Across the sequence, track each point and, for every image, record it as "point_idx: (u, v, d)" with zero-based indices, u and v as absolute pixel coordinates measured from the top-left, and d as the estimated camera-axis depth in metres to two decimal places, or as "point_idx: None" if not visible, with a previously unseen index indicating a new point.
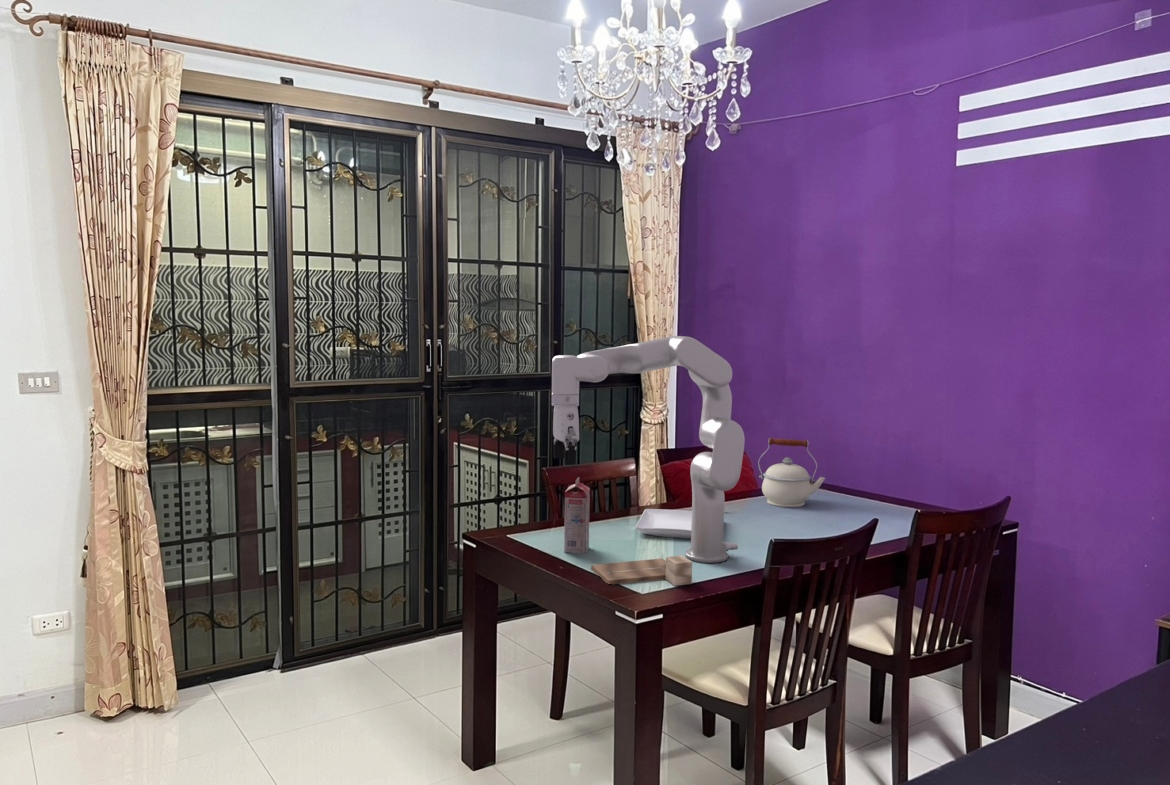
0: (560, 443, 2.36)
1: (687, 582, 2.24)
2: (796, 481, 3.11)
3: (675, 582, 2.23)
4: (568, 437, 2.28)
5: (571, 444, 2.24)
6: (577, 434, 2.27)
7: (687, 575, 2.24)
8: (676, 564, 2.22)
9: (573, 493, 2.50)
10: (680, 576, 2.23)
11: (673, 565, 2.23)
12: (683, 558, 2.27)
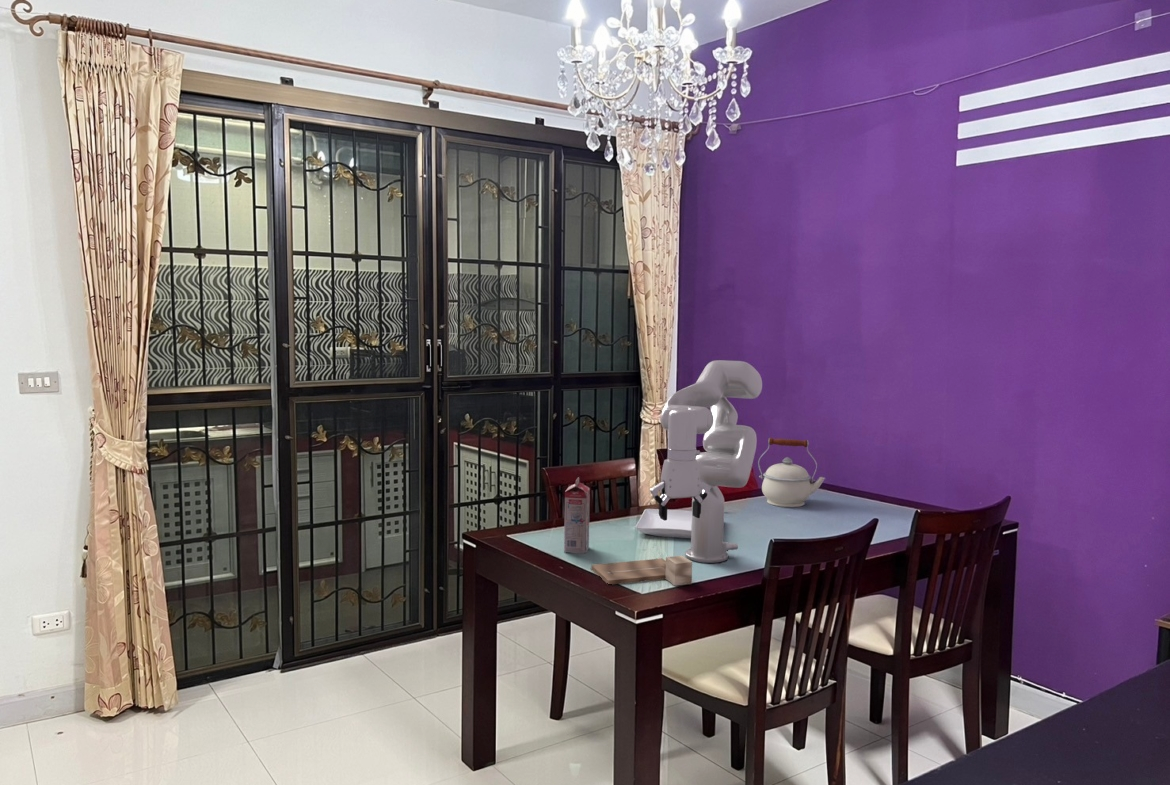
0: None
1: (687, 582, 2.24)
2: (796, 481, 3.11)
3: (675, 582, 2.23)
4: None
5: None
6: None
7: (687, 575, 2.24)
8: (676, 564, 2.22)
9: (573, 493, 2.50)
10: (680, 576, 2.23)
11: (673, 565, 2.23)
12: (683, 558, 2.27)
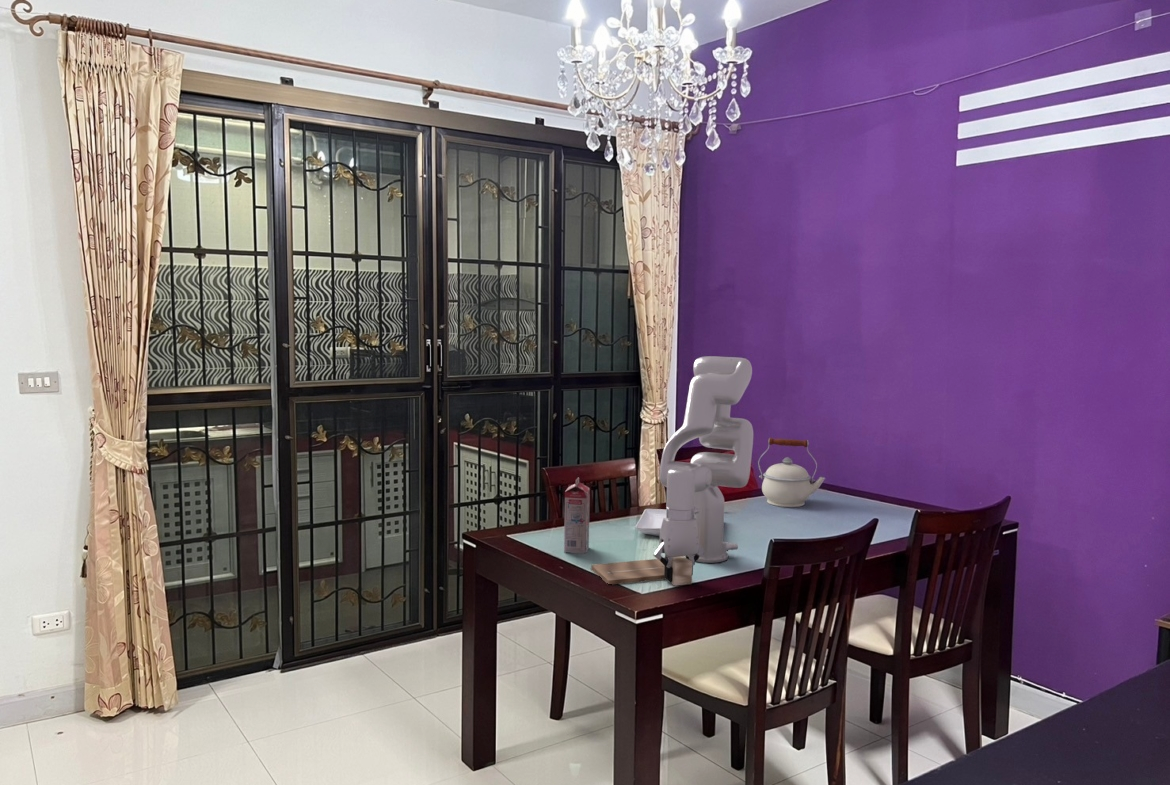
0: None
1: (687, 582, 2.24)
2: (796, 481, 3.11)
3: (675, 582, 2.23)
4: None
5: None
6: None
7: (687, 575, 2.24)
8: (676, 564, 2.22)
9: (573, 493, 2.50)
10: (680, 576, 2.23)
11: (673, 565, 2.23)
12: (683, 558, 2.27)
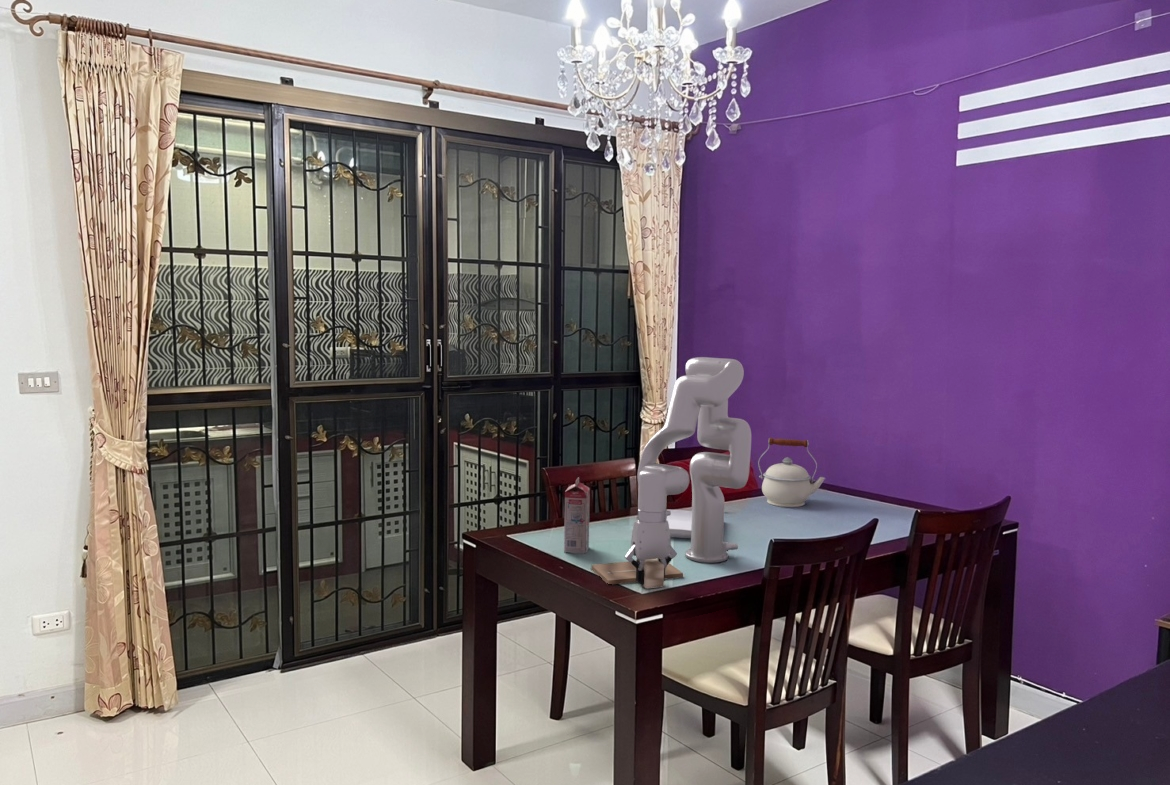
0: None
1: (659, 585, 2.21)
2: (796, 481, 3.11)
3: (647, 584, 2.20)
4: None
5: None
6: None
7: (659, 577, 2.21)
8: (647, 567, 2.20)
9: (573, 493, 2.50)
10: (652, 579, 2.20)
11: (645, 568, 2.20)
12: (655, 561, 2.24)
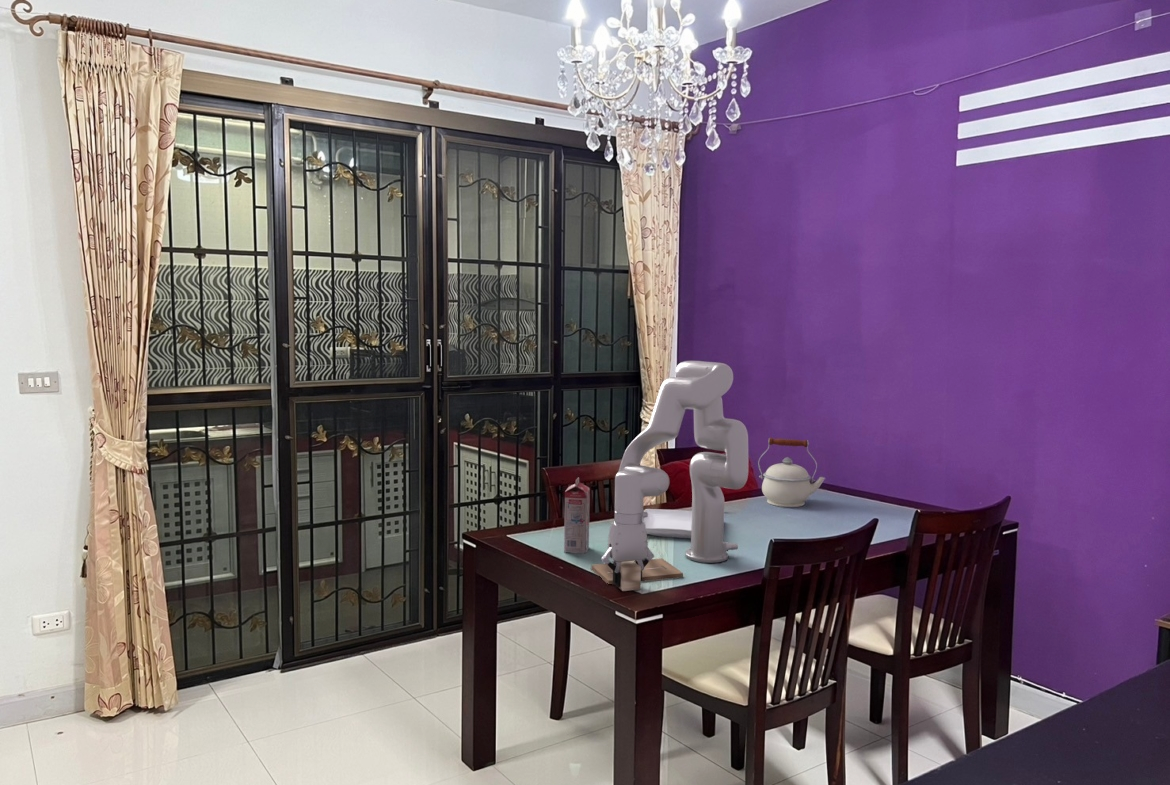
0: None
1: (635, 587, 2.19)
2: (796, 481, 3.11)
3: (623, 587, 2.18)
4: None
5: None
6: None
7: (635, 580, 2.19)
8: (624, 569, 2.17)
9: (573, 493, 2.50)
10: (628, 581, 2.18)
11: (621, 570, 2.18)
12: (632, 563, 2.22)
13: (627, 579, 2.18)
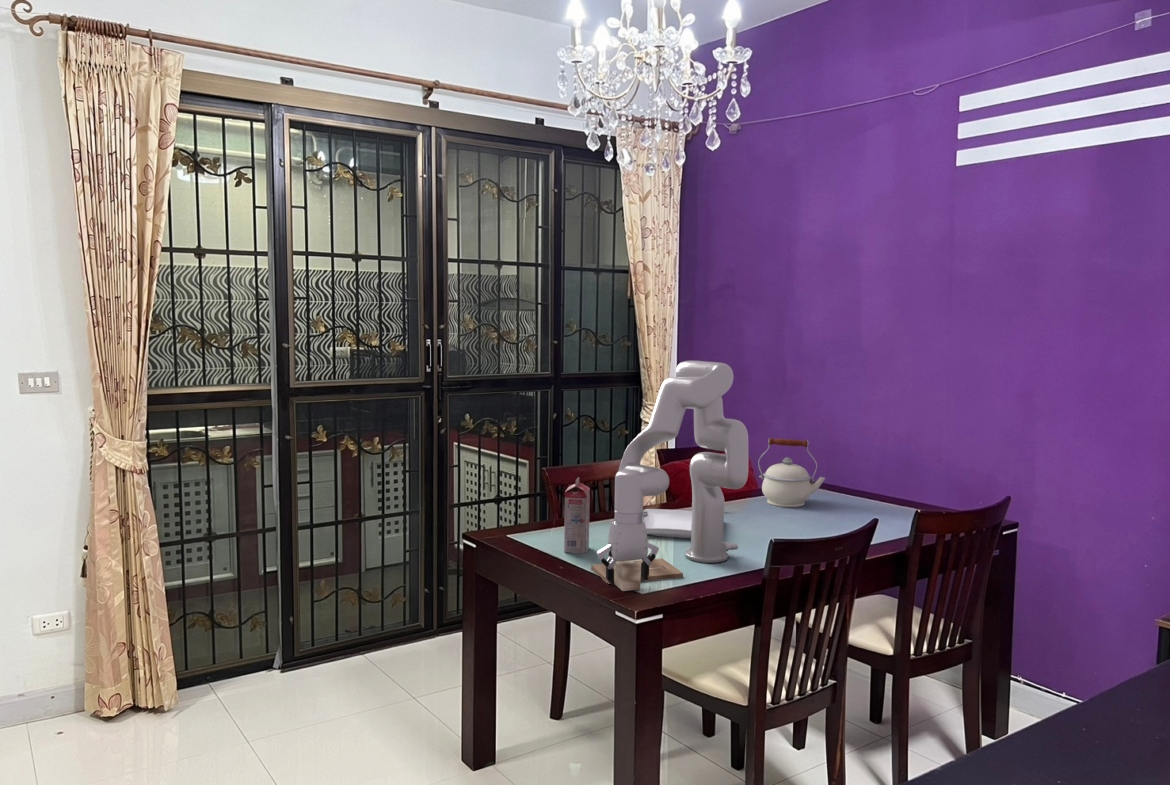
0: None
1: (635, 587, 2.19)
2: (796, 481, 3.11)
3: (623, 587, 2.18)
4: None
5: None
6: None
7: (635, 580, 2.19)
8: (624, 569, 2.17)
9: (573, 493, 2.50)
10: (628, 581, 2.18)
11: (621, 570, 2.18)
12: (632, 563, 2.22)
13: (627, 579, 2.18)
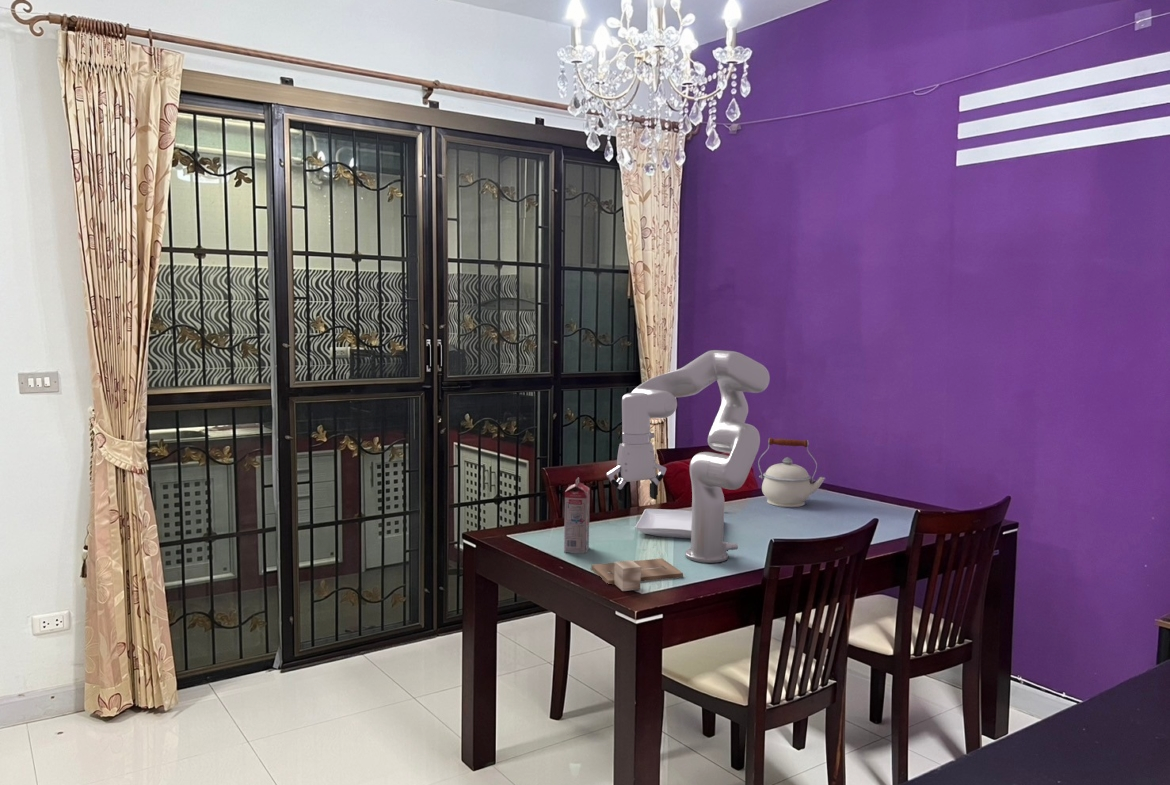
0: None
1: (635, 587, 2.19)
2: (796, 481, 3.11)
3: (623, 587, 2.18)
4: None
5: None
6: None
7: (635, 580, 2.19)
8: (624, 569, 2.17)
9: (573, 493, 2.50)
10: (628, 581, 2.18)
11: (621, 570, 2.18)
12: (632, 563, 2.22)
13: (627, 579, 2.18)
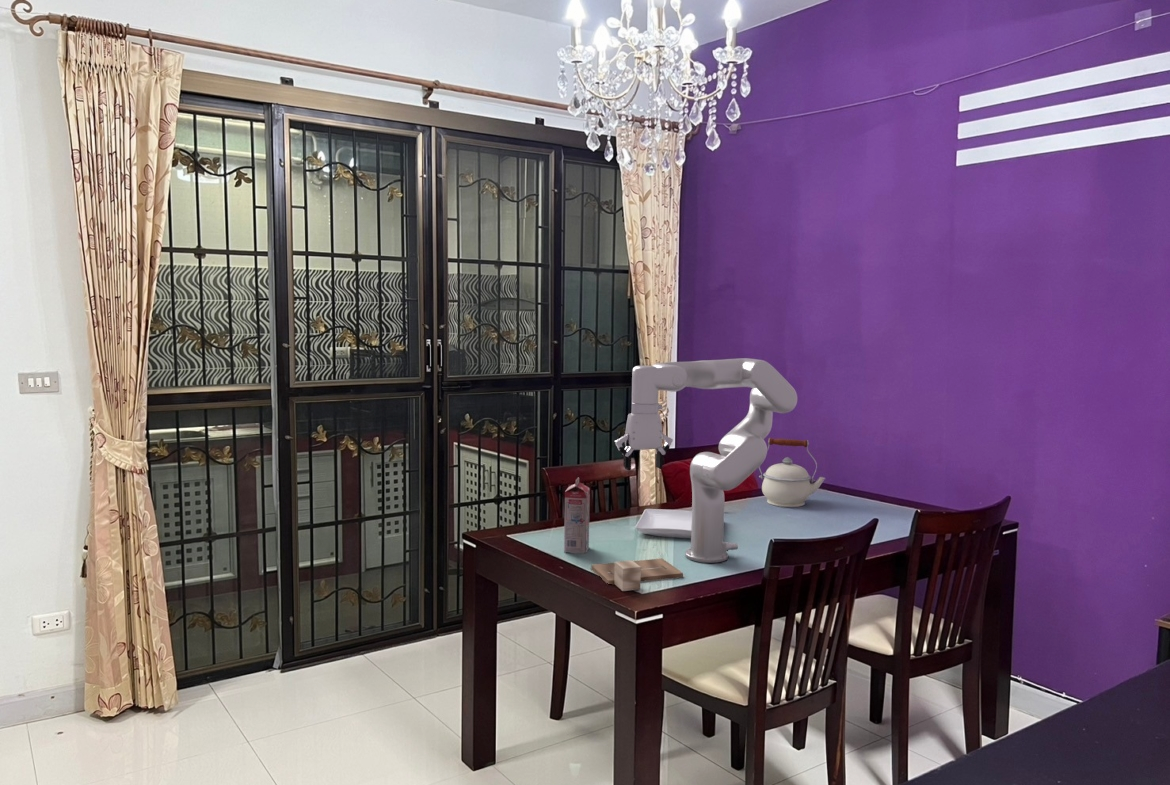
0: None
1: (635, 587, 2.19)
2: (796, 481, 3.11)
3: (623, 587, 2.18)
4: None
5: None
6: None
7: (635, 580, 2.19)
8: (624, 569, 2.17)
9: (573, 493, 2.50)
10: (628, 581, 2.18)
11: (621, 570, 2.18)
12: (632, 563, 2.22)
13: (627, 579, 2.18)
